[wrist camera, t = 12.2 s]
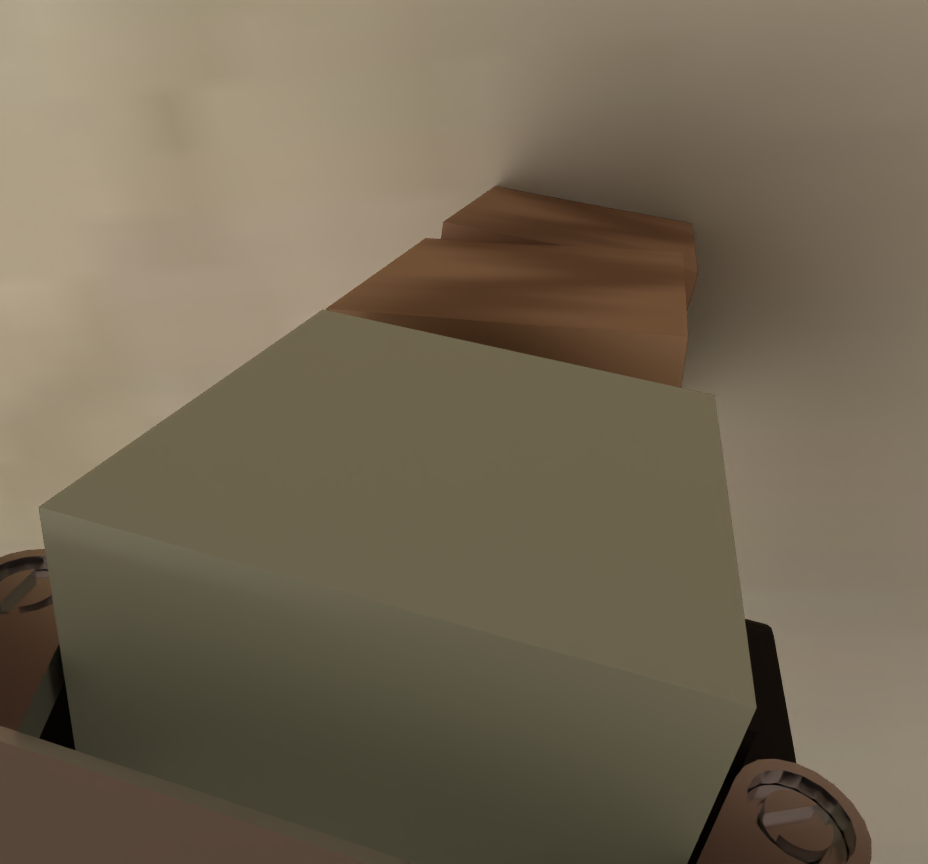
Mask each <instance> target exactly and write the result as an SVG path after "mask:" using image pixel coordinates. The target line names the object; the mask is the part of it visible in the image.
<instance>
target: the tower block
mask: <svg viewBox="0 0 928 864" xmlns="http://www.w3.org/2000/svg"><path fill="white" fill-rule="evenodd" d="M326 310H328V311H332V312H337V313H341V314H346V315H350V316H355V317H360V318H364V319H369V320H373V321H378V322H382V323H387V324H392V325H396V326H401V327H405V328H410V329H414V330H419V331H423V332H428V333H433V334H437V335H442V336H446V337H451V338H455V339H460V340H465V341H469V342H474V343H478V344H483V345H487V346H492V347H497V348H501V349H506V350H510V351H515V352H519V353H524V354H528V355H533V356H538V357H542V358H547V359H551V360H556V361H560V362H565V363H570V364H574V365H579V366H583V367H588V368H592V369H597V370H602V371H606V372H611V373H615V374H620V375H624V376H629V377H633V378H638V379H643V380H647V381H652V382H656V383H661V384H665V385H670V386H675V387H679V388H681V386H682V379H683V372H684V365H685V357H686V350H687V343H688V324H687V308H686V293H685V277H684V262H683V252H667V251H648V250H630V249H612V248H594V247H576V246H558V245H539V244H521V243H503V242H485V241H467V240H448V239H430V238H425V239H424V240H422V241H421V242H420V243H418V244H417V245H415V246H414V247H412V248H411V249H410V250H408V251H407V252H405V253H404V254H403V255H401V256H400V257H398V258H397V259H395V260H394V261H393V262H391V263H390V264H388V265H387V266H386V267H384V268H383V269H381V270H380V271H379V272H377V273H376V274H374V275H373V276H371V277H370V278H369V279H367V280H366V281H364V282H363V283H362V284H360V285H359V286H357V287H356V288H354V289H353V290H352V291H350V292H349V293H347V294H346V295H345V296H343V297H342V298H340V299H339V300H338V301H336V302H335V303H333V304H332V305H330V306H329V307H328V308H326Z"/></svg>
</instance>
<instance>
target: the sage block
mask: <svg viewBox="0 0 928 864" xmlns="http://www.w3.org/2000/svg"><path fill="white" fill-rule="evenodd" d="M39 513H40V520H41V526H42V533H43V539H44V546H45V553H46V559H47V566H48V572H49V579H50V586H51V592H52V599H53V605H54V612H55V619H56V625H57V632H58V638H59V645H60V652H61V658H62V665H63V671H64V678H65V685H66V691H67V698H68V704H69V711H70V717H71V724H72V731H73V737H74V744H75V750H76V751H79V752H82V753H85V754H88V755H91V756H94V757H97V758H100V759H103V760H106V761H109V762H112V763H115V764H118V765H121V766H124V767H127V768H130V769H133V770H137V771H140V772H143V773H146V774H149V775H152V776H155V777H158V778H161V779H164V780H167V781H170V782H173V783H176V784H179V785H182V786H185V787H188V788H191V789H194V790H197V791H200V792H203V793H206V794H209V795H212V796H215V797H218V798H221V799H224V800H227V801H230V802H233V803H236V804H239V805H242V806H245V807H248V808H251V809H254V810H257V811H260V812H263V813H266V814H269V815H272V816H275V817H278V818H281V819H284V820H287V821H290V822H293V823H296V824H299V825H302V826H305V827H308V828H311V829H314V830H317V831H320V832H323V833H326V834H329V835H332V836H335V837H338V838H341V839H344V840H347V841H350V842H353V843H356V844H359V845H361V846H364V847H367V848H370V849H373V850H376V851H379V852H382V853H385V854H388V855H391V856H394V857H397V858H400V859H403V860H406V861H409V862H412V863H415V864H687V863H688V861H689V858H690V856H691V854H692V852H693V849H694V847H695V845H696V843H697V840H698V838H699V836H700V834H701V832H702V829H703V827H704V825H705V823H706V820H707V818H708V816H709V814H710V811H711V809H712V807H713V805H714V802H715V800H716V798H717V796H718V793H719V791H720V789H721V787H722V784H723V782H724V780H725V778H726V775H727V773H728V771H729V769H730V766H731V764H732V762H733V760H734V757H735V755H736V753H737V751H738V748H739V746H740V744H741V742H742V739H743V737H744V735H745V733H746V730H747V728H748V726H749V724H750V721H751V719H752V717H753V715H754V713H755V710H756V708H757V707H756V700H755V692H754V685H753V677H752V670H751V662H750V655H749V647H748V640H747V632H746V625H745V617H744V610H743V602H742V595H741V587H740V580H739V573H738V565H737V558H736V550H735V543H734V535H733V528H732V520H731V513H730V505H729V498H728V490H727V483H726V475H725V468H724V460H723V453H722V446H721V438H720V431H719V423H718V416H717V408H716V401H715V395H711V394H707V393H702V392H697V391H693V390H688V389H684V388H679V387H675V386H670V385H665V384H661V383H656V382H652V381H647V380H643V379H638V378H633V377H629V376H624V375H620V374H615V373H611V372H606V371H602V370H597V369H592V368H588V367H583V366H579V365H574V364H570V363H565V362H560V361H556V360H551V359H547V358H542V357H538V356H533V355H528V354H524V353H519V352H515V351H510V350H506V349H501V348H497V347H492V346H487V345H483V344H478V343H474V342H469V341H465V340H460V339H455V338H451V337H446V336H442V335H437V334H433V333H428V332H423V331H419V330H414V329H410V328H405V327H401V326H396V325H392V324H387V323H382V322H378V321H373V320H369V319H364V318H360V317H355V316H350V315H346V314H341V313H337V312H332V311H328V310H321V311H320V312H319V313H317V314H316V315H314V316H313V317H311V318H310V319H308V320H307V321H306V322H304V323H303V324H301V325H300V326H298V327H297V328H296V329H294V330H293V331H291V332H290V333H288V334H287V335H285V336H284V337H283V338H281V339H280V340H278V341H277V342H275V343H274V344H272V345H271V346H270V347H268V348H267V349H265V350H264V351H262V352H261V353H260V354H258V355H257V356H255V357H254V358H252V359H251V360H249V361H248V362H247V363H245V364H244V365H242V366H241V367H239V368H238V369H237V370H235V371H234V372H232V373H231V374H229V375H228V376H226V377H225V378H224V379H222V380H221V381H219V382H218V383H216V384H215V385H213V386H212V387H211V388H209V389H208V390H206V391H205V392H203V393H202V394H201V395H199V396H198V397H196V398H195V399H193V400H192V401H190V402H189V403H188V404H186V405H185V406H183V407H182V408H180V409H179V410H177V411H176V412H175V413H173V414H172V415H170V416H169V417H167V418H166V419H165V420H163V421H162V422H160V423H159V424H157V425H156V426H154V427H153V428H152V429H150V430H149V431H147V432H146V433H144V434H143V435H142V436H140V437H139V438H137V439H136V440H134V441H133V442H131V443H130V444H129V445H127V446H126V447H124V448H123V449H121V450H120V451H118V452H117V453H116V454H114V455H113V456H111V457H110V458H108V459H107V460H106V461H104V462H103V463H101V464H100V465H98V466H97V467H95V468H94V469H93V470H91V471H90V472H88V473H87V474H85V475H84V476H83V477H81V478H80V479H78V480H77V481H75V482H74V483H72V484H71V485H70V486H68V487H67V488H65V489H64V490H62V491H61V492H59V493H58V494H57V495H55V496H54V497H52V498H51V499H49V500H48V501H47V502H45V503H44V504H42V505H41V506H39Z"/></svg>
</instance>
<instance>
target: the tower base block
mask: <svg viewBox="0 0 928 864" xmlns="http://www.w3.org/2000/svg"><path fill="white" fill-rule="evenodd" d="M441 239H448V240H467V241H485V242H503V243H521V244H539V245H558V246H576V247H594V248H612V249H630V250H648V251H667V252H683V262H684V277H685V293H686V308H687V309H688V306H689V302H690V299H691V296H692V292H693V289H694V285H695V282H696V278H697V275H698V268H697V260H696V253H695V245H694V237H693V230H692V224H691V223H686V222H680V221H675V220H670V219H665V218H659V217H654V216H649V215H643V214H638V213H633V212H628V211H622V210H617V209H612V208H606V207H601V206H596V205H591V204H585V203H580V202H575V201H570V200H564V199H559V198H554V197H548V196H543V195H538V194H533V193H527V192H522V191H517V190H511V189H506V188H501V187H496V186H495V187H493V188H492V189H490V190H489V191H487V192H486V193H485V194H483V195H482V196H480V197H479V198H477V199H476V200H474V201H473V202H472V203H470V204H469V205H467V206H466V207H464V208H463V209H461V210H460V211H459V212H457V213H456V214H454V215H453V216H451V217H450V218H448V219H447V220H445V221H444V222H443V228H442V236H441Z"/></svg>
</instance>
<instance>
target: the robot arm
mask: <svg viewBox="0 0 928 864" xmlns="http://www.w3.org/2000/svg"><path fill="white" fill-rule="evenodd" d="M745 625H746V632H747V640H748V647H749V655H750V662H751V670H752V677H753V685H754V692H755V700H756V707H757V708H756V710H755V713H754V715H753V717H752V719H751V721H750V724H749V726H748V728H747V730H746V733H745V735H744V737H743V739H742V742H741V744H740V746H739V748H738V751H737V753H736V755H735V757H734V760H733V762H732V764H731V766H730V769H729V771H728V773H727V775H726V778H725V780H724V782H723V784H722V787H721V789H720V791H719V793H718V796H717V798H716V800H715V802H714V805H713V807H712V809H711V811H710V814H709V816H708V818H707V820H706V823H705V825H704V827H703V829H702V832H701V834H700V836H699V838H698V840H697V843H696V845H695V847H694V849H693V852H692V854H691V856H690V858H689V861H688V863H687V864H870V861H871V838H870V835H869V832H868V830H867V827H866V824H865V821H864V820H863V818H862V817H861V815H860V814H859V812H858V811H857V809H856V808H855V806H854V805H853V803H852V802H851V801H850V800H849V799H848V798H847V797H846V796H845V795H844V794H843V793H842V792H841V791H840V790H839V789H838V788H837V787H836V786H835V785H834V784H832V783H831V782H829V781H828V780H826V779H825V778H823V777H822V776H820V775H819V774H818V773H816V772H814V771H812V770H810V769H808V768H805V767H803V766H801V765H799V764H796V758H795V753H794V747H793V742H792V736H791V730H790V725H789V719H788V714H787V708H786V702H785V697H784V691H783V686H782V680H781V674H780V669H779V663H778V658H777V652H776V646H775V641H774V635H773V632H772V629H771V627H769V626H768V625H766V624H763V623H759V622H755V621H751V620H747V619H745ZM0 864H415V863H412V862H409V861H406V860H403V859H400V858H397V857H394V856H391V855H388V854H385V853H382V852H379V851H376V850H373V849H370V848H367V847H364V846H361V845H359V844H356V843H353V842H350V841H347V840H344V839H341V838H338V837H335V836H332V835H329V834H326V833H323V832H320V831H317V830H314V829H311V828H308V827H305V826H302V825H299V824H296V823H293V822H290V821H287V820H284V819H281V818H278V817H275V816H272V815H269V814H266V813H263V812H260V811H257V810H254V809H251V808H248V807H245V806H242V805H239V804H236V803H233V802H230V801H227V800H224V799H221V798H218V797H215V796H212V795H209V794H206V793H203V792H200V791H197V790H194V789H191V788H188V787H185V786H182V785H179V784H176V783H173V782H170V781H167V780H164V779H161V778H158V777H155V776H152V775H149V774H146V773H143V772H140V771H137V770H133V769H130V768H127V767H124V766H121V765H118V764H115V763H112V762H109V761H106V760H103V759H100V758H97V757H94V756H91V755H88V754H85V753H82V752H79V751H76V750H75V744H74V737H73V731H72V724H71V717H70V711H69V704H68V698H67V691H66V685H65V678H64V671H63V665H62V658H61V652H60V645H59V638H58V632H57V625H56V619H55V612H54V605H53V599H52V592H51V586H50V579H49V572H48V566H47V559H46V553H45V549H36V550H25V551H21V552H16V553H11V554H8V555H5V556H3V557H0Z"/></svg>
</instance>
